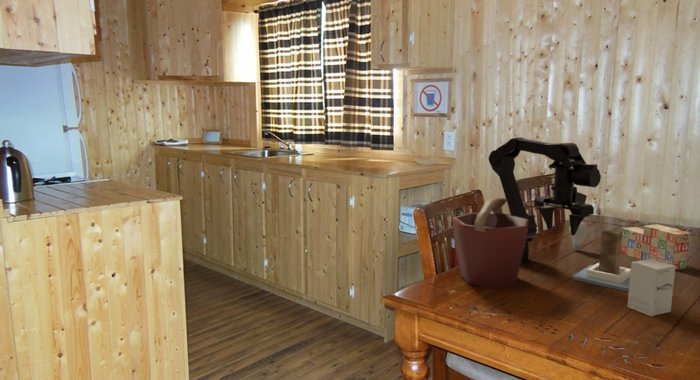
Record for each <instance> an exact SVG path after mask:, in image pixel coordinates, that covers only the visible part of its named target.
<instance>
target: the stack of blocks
mask: <svg viewBox="0 0 700 380" xmlns="http://www.w3.org/2000/svg"><path fill="white" fill-rule="evenodd" d="M621 231H622V242H621V254H624V255H626V256H629V257H631V258H635V259H638V260H639V261H641V260H646V259H653V260H657V261H660V262H664V263H668V264H671V265H674V266H676V267H675V271H677V270H679V271H680V270H686V269H687V264H688V255H689V254H688V253H689V247H690V237H691V232H688V231H683V230H681V229H678V228H675V227H674V228H673V227H669V226H666V225H662V224H657V223H656V224H647V225H644V226H643V228H640V227H638V226H631V227H630V226H629V227H624V228H621Z"/></svg>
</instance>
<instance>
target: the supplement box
mask: <svg viewBox="0 0 700 380" xmlns="http://www.w3.org/2000/svg"><path fill="white" fill-rule="evenodd" d="M630 263H631V265H630V269H631V273H630V284H629V292H628V297H627V308H630V309H631V310H634V311H636V312H639V313H641V314H645V315H647V316H649V317H654V316H659V315H663V314H666V313H671V310H672V302H673V294H674V284H675V275H676V274H675V273H676V270H675V267H676V266H674V265H671V264H668V263H664V262H660V261H657V260H653V259H646V260H637V261H635V260H634V261H632V262H630Z"/></svg>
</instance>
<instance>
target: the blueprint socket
mask: <svg viewBox="0 0 700 380" xmlns="http://www.w3.org/2000/svg"><path fill="white" fill-rule="evenodd" d="M630 273H631V268H627V267H623V266H620V267H619V275H616V274H611V273H606V272H601V271H599V262H597V263H595V264H590V265H588V266H585V268H583V269H582V270H580V271H578V272H576V273H575V274H574V275H572V276H571V277H572V280H573V281H577V282H582V283H587V284H591V285H597V286H601V287H605V288H609V289H613V290H619V291H623V292H627V293H629V284H630Z"/></svg>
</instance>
